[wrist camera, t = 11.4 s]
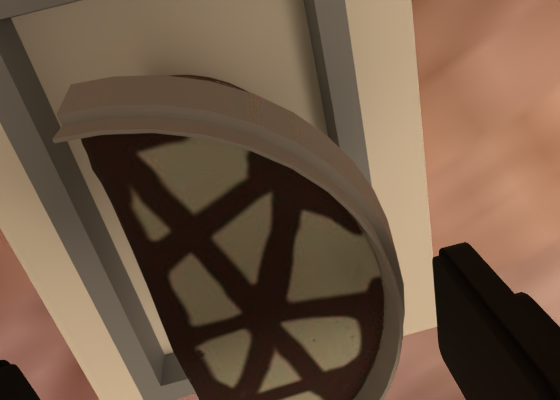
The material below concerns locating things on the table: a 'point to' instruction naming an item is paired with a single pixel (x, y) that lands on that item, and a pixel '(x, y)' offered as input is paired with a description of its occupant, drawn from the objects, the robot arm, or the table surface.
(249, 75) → the board
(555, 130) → the table surface
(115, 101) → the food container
